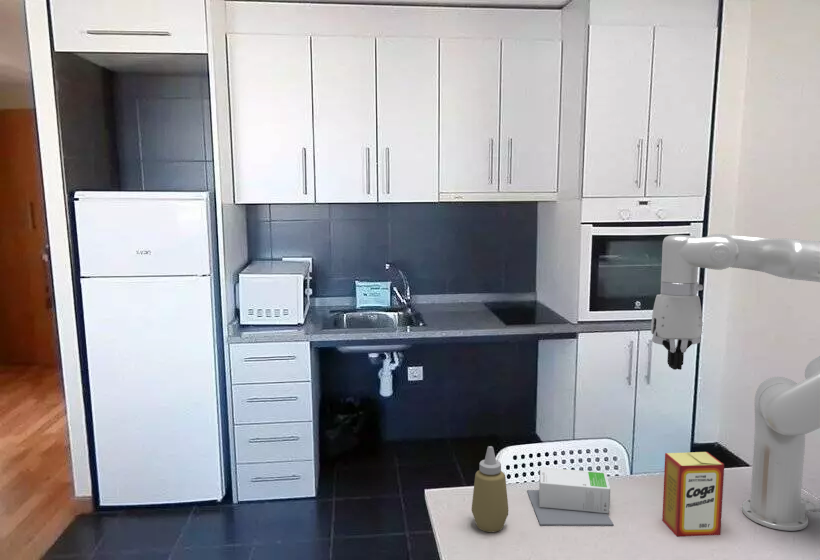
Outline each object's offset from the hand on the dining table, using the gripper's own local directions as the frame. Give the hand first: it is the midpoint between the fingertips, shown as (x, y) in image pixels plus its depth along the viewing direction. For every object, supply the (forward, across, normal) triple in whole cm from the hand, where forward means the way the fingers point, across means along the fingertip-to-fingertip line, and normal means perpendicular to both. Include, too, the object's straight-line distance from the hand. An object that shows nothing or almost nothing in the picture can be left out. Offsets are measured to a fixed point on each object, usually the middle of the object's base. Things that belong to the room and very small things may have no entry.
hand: (675, 367), depth 138 cm
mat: (+32, +25, +4) cm, 41 cm away
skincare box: (+29, +16, +4) cm, 33 cm away
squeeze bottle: (+32, +44, +12) cm, 56 cm away
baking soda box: (+32, 0, +13) cm, 35 cm away
